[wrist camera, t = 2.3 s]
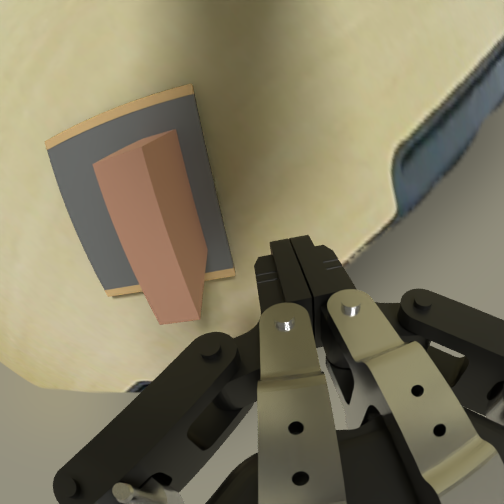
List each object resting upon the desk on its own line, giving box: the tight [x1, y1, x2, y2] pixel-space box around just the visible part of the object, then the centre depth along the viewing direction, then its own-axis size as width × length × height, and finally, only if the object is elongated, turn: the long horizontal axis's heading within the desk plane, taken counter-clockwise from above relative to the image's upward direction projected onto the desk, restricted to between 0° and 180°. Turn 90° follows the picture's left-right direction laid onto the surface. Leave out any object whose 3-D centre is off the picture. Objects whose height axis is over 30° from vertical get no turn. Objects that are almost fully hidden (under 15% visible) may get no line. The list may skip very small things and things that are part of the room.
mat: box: [45, 84, 235, 297], centre depth 20 cm, size 16×13×1 cm
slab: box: [92, 129, 208, 325], centre depth 16 cm, size 10×3×8 cm, turn 10°
